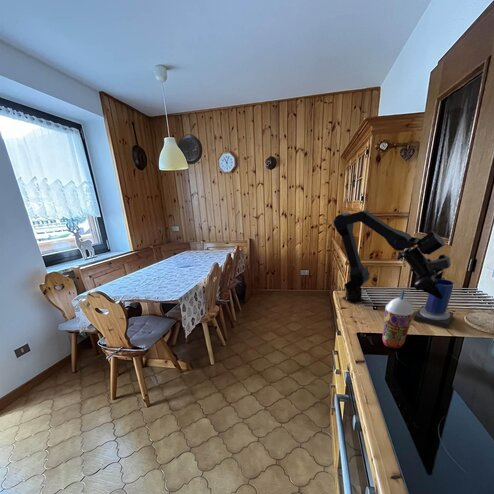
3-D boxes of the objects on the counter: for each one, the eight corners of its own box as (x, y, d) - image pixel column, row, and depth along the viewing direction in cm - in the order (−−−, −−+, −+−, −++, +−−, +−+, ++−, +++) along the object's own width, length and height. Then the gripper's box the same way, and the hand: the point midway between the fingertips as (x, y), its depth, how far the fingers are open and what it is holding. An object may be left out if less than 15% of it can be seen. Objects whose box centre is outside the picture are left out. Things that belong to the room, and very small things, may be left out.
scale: (413, 320, 111) (415, 313, 110) (421, 310, 118) (422, 304, 117) (446, 328, 104) (448, 321, 103) (452, 317, 112) (454, 310, 110)
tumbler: (421, 306, 113) (428, 279, 108) (439, 305, 113) (447, 278, 107) (431, 314, 107) (438, 286, 102) (450, 313, 106) (458, 285, 101)
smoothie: (379, 348, 96) (389, 294, 86) (379, 336, 102) (388, 284, 93) (407, 352, 93) (420, 297, 84) (404, 339, 99) (417, 286, 90)
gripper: (432, 255, 95) (462, 292, 94) (444, 243, 107) (471, 276, 106) (402, 273, 104) (429, 307, 102) (416, 260, 116) (441, 291, 114)
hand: (443, 295), depth 106 cm, fingers closed on tumbler, 7 cm apart
